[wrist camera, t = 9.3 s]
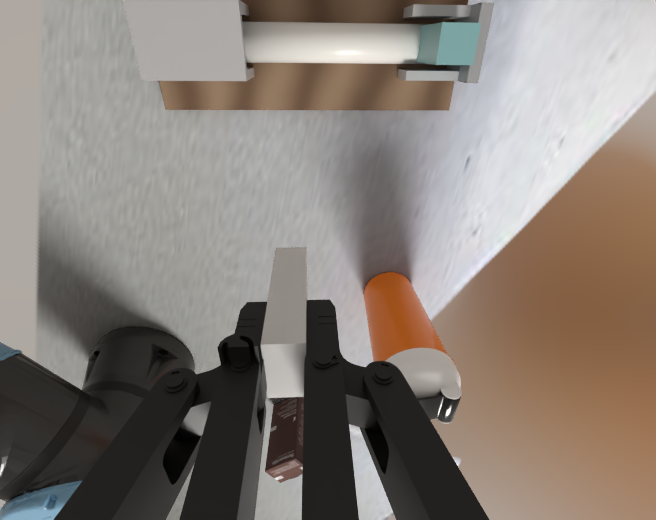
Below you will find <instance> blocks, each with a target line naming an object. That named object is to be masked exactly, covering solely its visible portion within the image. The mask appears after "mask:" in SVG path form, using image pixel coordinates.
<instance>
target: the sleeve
mask: <svg viewBox="0 0 656 520" xmlns="http://www.w3.org/2000/svg"><path fill="white" fill-rule="evenodd" d="M122 1H123V5H124V10H125V14H126V18H127V22H128V26H129V31H130V35H131V39H132V43H133V47H134V52H135V56H136V60H137V64H138V68H139V73H140V77H141V81H248V80H250V79H251V78H253V77H255V76H254V68H247V67H246V57H245V46H244V36H243V26H242V16H249V8H248V5H246V4H245V3H243V2H242V1H240V0H122Z"/></svg>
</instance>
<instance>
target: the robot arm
mask: <svg viewBox="0 0 656 520" xmlns="http://www.w3.org/2000/svg"><path fill="white" fill-rule="evenodd" d="M218 352H219V357H220V361H221V365H220V366H219V367H217V368H215V369H213V370H210V371H207V372H204V373H200V374H197V375H196V374H195V372H194V369H195V365H194V360H193V357H192V355H191V353H190V352H189V351H188V349H187V348H186V347H185V346H184V345H183V344H182V343H181V342H179V341H178V340H177V339H175V338H174V337H172V336H170V335H168V334H166V333H163V332H161V331H158V330H154V329H150V328H144V327H126V328H121V329H117V330H114V331H112V332H110V333H108V334H106V335H105V336H104V337H103V338H102V339H101V340H100V341H99V343H98V344H97V345H96V347H95V348H94V350H93V351H92V353H91V355H90V358H89V362H88V366H87V370H86V375H85V379H84V384H83V388H82V390H80V389H79V388H77V387H76V386H74V385H72V384H71V383H69V382H67V381H66V380H64V379H62V378H61V377H59V376H57V375H56V374H54V373H52V372H51V371H49V370H48V369H46V368H44V367H43V366H41V365H40V364H38V363H36V362H35V361H33V360H32V359H30V358H28V357H27V356H25V355H24V354H22V352H21V351H20V350H14V349H12V348H10V347H8V346H6V345H5V344H3V343H1V342H0V499H2V500H4V501H6V503H5V504H4V506H3V507H2V508H1V510H0V520H166V518H167V516H168V514H169V512H170V510H171V508H172V506H173V504H174V502H175V500H176V498H177V496H178V494H179V492H180V490H181V488H182V486H183V484H184V482H185V481H186V479H187V477H188V475H189V473H190V471H191V469H192V467H193V465H194V468H193V472H192V475H191V479H190V483H189V487H188V490H187V494H186V498H185V501H184V505H183V509H182V513H181V516H180V520H254V517H255V508H256V499H257V490H258V481H259V472H260V463H261V454H262V445H263V436H264V427H265V418H266V406H265V399H266V392H267V398H284V397H304V416H303V479H302V520H359V517H358V508H357V498H356V488H355V479H354V469H353V460H352V450H351V441H350V431H349V424H351V425H355V426H358V427H360V430H361V432H362V435H363V437H364V440H365V442H366V445H367V447H368V450H369V452H370V455H371V457H372V460H373V462H374V465H375V467H376V470H377V472H378V475H379V477H380V480H381V482H382V485H383V487H384V490H385V492H386V495H387V497H388V500H389V502H390V505H391V507H392V510H393V512H394V515H395V517H396V520H489V518H488V517H487V515H486V513H485V512H484V510H483V508H482V507H481V505H480V503H479V502H478V500H477V498H476V497H475V495H474V493H473V492H472V490H471V488H470V487H469V485H468V483H467V481H466V480H465V478H464V477H463V475H462V473H461V471H460V470H459V468H458V466H457V465H456V463H455V461H454V460H453V458H452V456H451V455H450V453H449V452H448V450H447V448H446V446H445V445H444V443H443V441H442V439H441V438H440V436H439V434H438V433H437V431H436V429H435V428H434V426H433V424H432V423H431V421H430V419H429V418H428V416H427V414H426V413H425V411H424V409H423V407H422V406H421V404H420V402H419V401H418V399H417V397H416V396H415V394H414V392H413V391H412V389H411V387H410V386H409V384H408V382H407V381H406V379H405V377H404V376H403V374H402V372H401V371H400V370H399V369H398V367H397V366H395V365H394V364H392V363H390V362H386V361H375V362H372V363H370V364H368V366H367V367H366V368H365V367H361V366H357V365H354V364H351V363H350V362H348V361H346V360H345V359H344V358H343V356H342V355H341V353H340V349H339V340H338V330H337V321H336V311H335V306H334V305H333V304H332V302H331V301H330V300H308V284H307V247H297V248H276V251H275V257H274V263H273V270H272V276H271V282H270V288H269V295H268V301H267V302H247V303H246V305H245V306H244V307H243V308H242V309H241V310H240V314H239V318H238V322H237V327H236V330H235V334H233V335H231V336H228V337H226V338H225V339H224V340H223V341H221V342H220V344H219V346H218ZM194 463H195V464H194Z"/></svg>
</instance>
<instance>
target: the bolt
mask: <svg viewBox="0 0 656 520" xmlns="http://www.w3.org/2000/svg"><path fill="white" fill-rule="evenodd" d="M242 26H243V36H244V46H245V57H246V63H361V64H433V65H473V63H474V58H475V53H476V48H477V43H478V38H479V33H480V28H481V23H462V22H441V23H435V24H382V23H308V22H242Z"/></svg>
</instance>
